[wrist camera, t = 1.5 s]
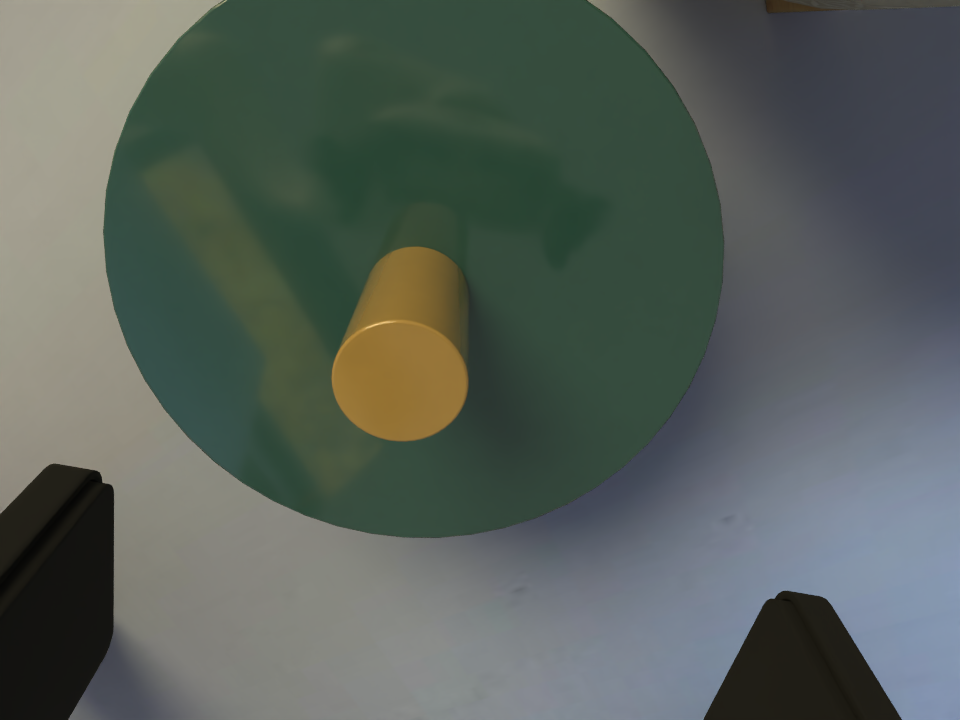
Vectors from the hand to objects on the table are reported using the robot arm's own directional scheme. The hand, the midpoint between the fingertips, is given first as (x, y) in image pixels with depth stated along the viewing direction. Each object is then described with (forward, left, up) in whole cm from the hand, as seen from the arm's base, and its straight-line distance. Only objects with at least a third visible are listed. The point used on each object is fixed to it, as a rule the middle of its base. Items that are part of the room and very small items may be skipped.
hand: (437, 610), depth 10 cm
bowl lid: (-1, 0, -12) cm, 12 cm away
